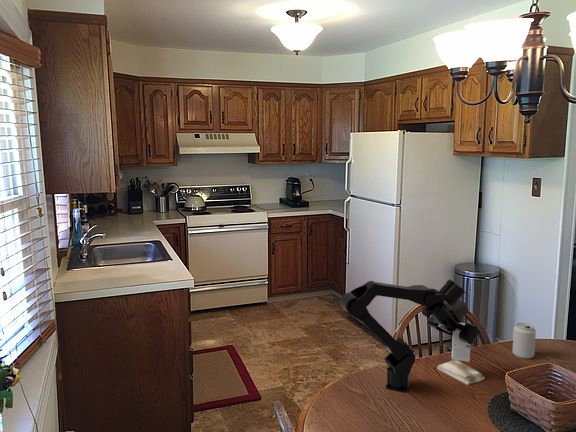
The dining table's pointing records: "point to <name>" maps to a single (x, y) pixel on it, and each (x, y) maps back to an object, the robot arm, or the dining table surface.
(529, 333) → the can
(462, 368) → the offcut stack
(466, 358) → the skincare box
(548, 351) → the dining table surface
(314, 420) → the dining table surface
